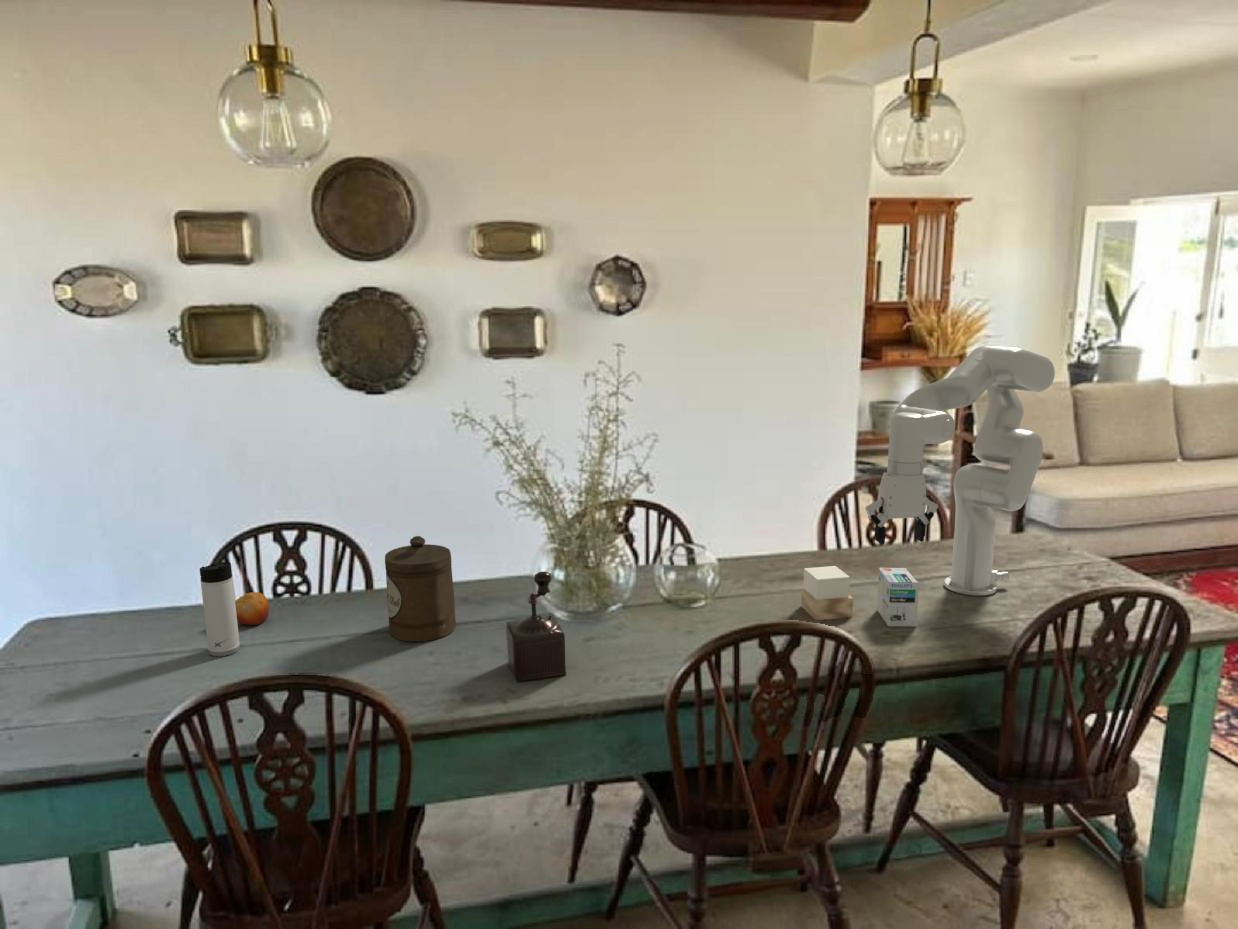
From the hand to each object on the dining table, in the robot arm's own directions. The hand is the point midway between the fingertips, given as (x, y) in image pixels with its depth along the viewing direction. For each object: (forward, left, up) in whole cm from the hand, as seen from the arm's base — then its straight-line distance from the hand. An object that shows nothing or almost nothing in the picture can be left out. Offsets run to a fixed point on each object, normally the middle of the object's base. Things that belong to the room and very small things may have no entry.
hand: (899, 541), depth 213 cm
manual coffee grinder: (+85, +6, -19) cm, 87 cm away
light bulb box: (0, 0, -19) cm, 19 cm away
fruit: (+147, -31, -19) cm, 151 cm away
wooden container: (+108, -18, -19) cm, 111 cm away
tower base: (+14, -8, -19) cm, 25 cm away
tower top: (+14, -8, -14) cm, 21 cm away
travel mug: (+150, -15, -19) cm, 152 cm away
